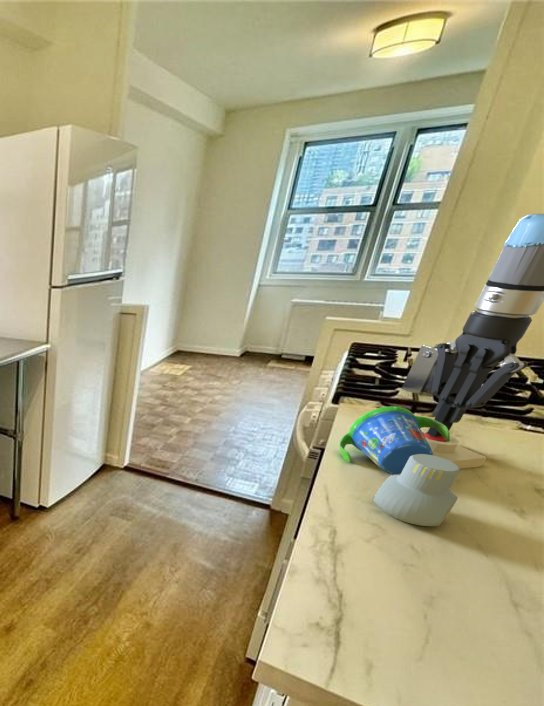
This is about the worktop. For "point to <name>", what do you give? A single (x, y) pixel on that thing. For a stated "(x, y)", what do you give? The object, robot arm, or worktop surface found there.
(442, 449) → the button housing
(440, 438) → the button
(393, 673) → the worktop surface
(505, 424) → the worktop surface
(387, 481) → the air freshener
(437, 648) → the worktop surface
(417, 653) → the worktop surface
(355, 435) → the snack cup
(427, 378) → the lever bracket
